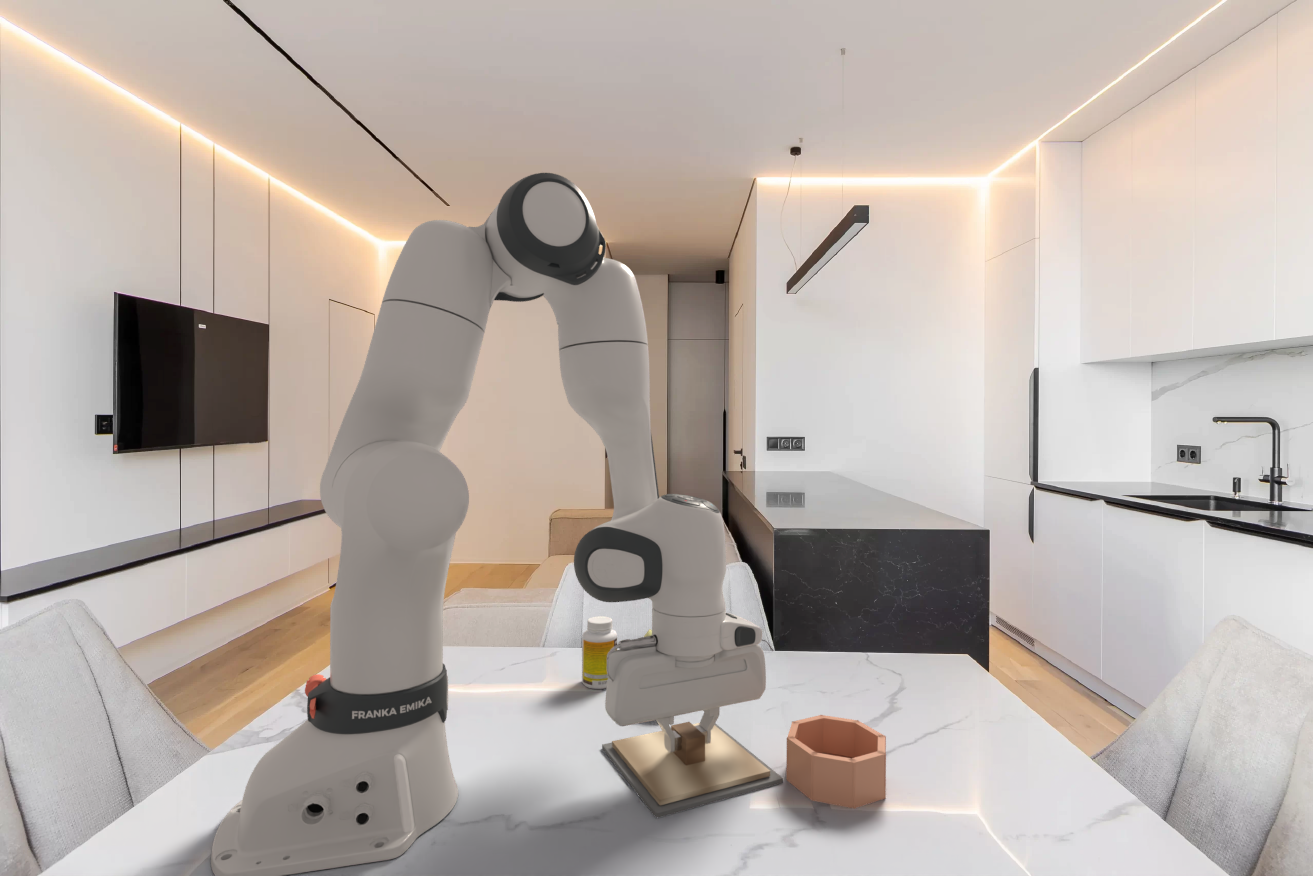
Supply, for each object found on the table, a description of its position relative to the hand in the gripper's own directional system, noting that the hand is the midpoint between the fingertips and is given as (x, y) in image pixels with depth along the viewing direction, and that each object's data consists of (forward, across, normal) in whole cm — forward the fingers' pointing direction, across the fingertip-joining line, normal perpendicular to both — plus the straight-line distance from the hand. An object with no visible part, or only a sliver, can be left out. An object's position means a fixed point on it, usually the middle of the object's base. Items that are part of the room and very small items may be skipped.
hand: (687, 746), depth 76 cm
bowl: (+2, +14, -10) cm, 17 cm away
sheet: (+2, 0, 0) cm, 2 cm away
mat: (+2, 0, 0) cm, 2 cm away
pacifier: (+4, +10, +36) cm, 38 cm away
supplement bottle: (+3, -1, +28) cm, 28 cm away
